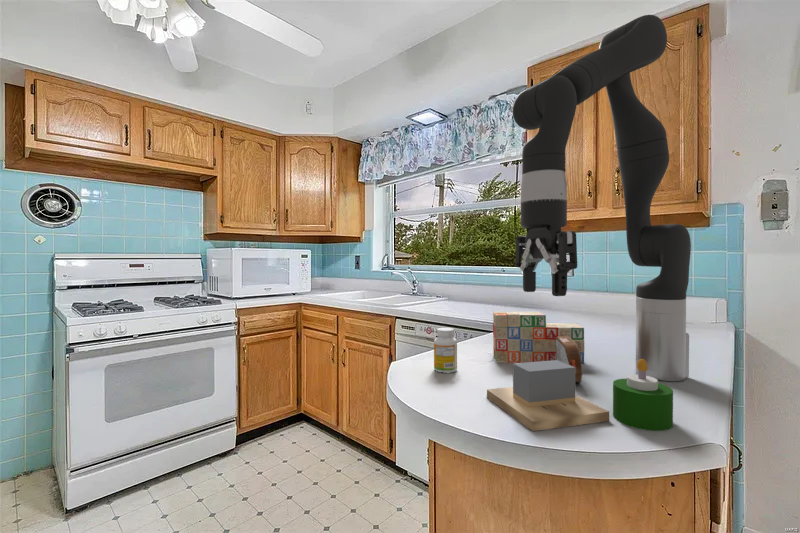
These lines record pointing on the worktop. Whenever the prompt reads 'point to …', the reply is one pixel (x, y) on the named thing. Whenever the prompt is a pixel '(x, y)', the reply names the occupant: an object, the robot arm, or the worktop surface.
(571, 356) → the tin
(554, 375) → the block
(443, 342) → the supplement bottle
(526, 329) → the stack of blocks
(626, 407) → the candle
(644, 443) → the worktop surface
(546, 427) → the board
